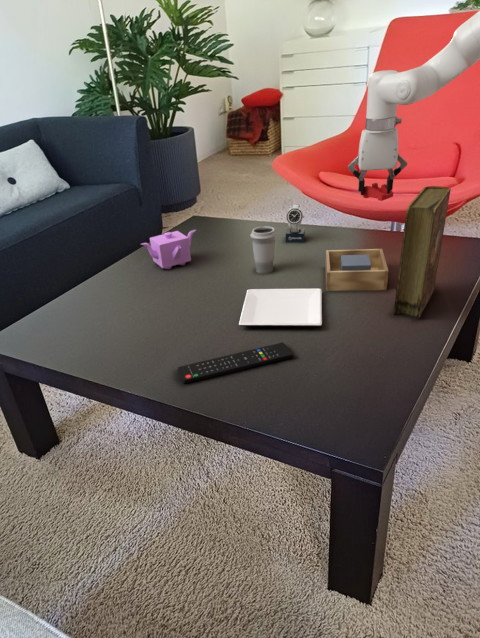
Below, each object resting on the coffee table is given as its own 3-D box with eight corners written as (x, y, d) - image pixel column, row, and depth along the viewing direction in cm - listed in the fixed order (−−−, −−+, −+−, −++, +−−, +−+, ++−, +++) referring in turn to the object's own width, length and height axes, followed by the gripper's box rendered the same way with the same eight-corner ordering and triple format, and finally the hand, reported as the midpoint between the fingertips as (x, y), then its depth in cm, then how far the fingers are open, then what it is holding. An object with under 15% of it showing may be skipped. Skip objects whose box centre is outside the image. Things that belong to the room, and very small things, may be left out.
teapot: (153, 279, 150) (148, 247, 145) (138, 265, 161) (132, 234, 155) (209, 264, 156) (206, 232, 151) (190, 251, 166) (187, 221, 161)
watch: (284, 245, 162) (284, 210, 156) (287, 236, 169) (287, 202, 163) (303, 245, 161) (303, 210, 155) (305, 236, 167) (305, 201, 161)
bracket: (363, 197, 149) (363, 186, 148) (374, 193, 152) (375, 182, 150) (381, 200, 145) (382, 189, 143) (393, 196, 147) (393, 185, 145)
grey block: (367, 272, 139) (368, 254, 137) (369, 283, 134) (371, 265, 131) (339, 272, 141) (340, 255, 138) (341, 283, 135) (342, 265, 132)
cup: (275, 265, 151) (274, 224, 144) (279, 274, 145) (278, 232, 138) (250, 267, 151) (248, 227, 144) (253, 277, 145) (251, 235, 139)
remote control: (293, 359, 109) (293, 354, 108) (182, 386, 105) (181, 381, 104) (282, 347, 114) (282, 342, 113) (176, 373, 109) (175, 367, 109)
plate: (247, 295, 136) (247, 288, 135) (321, 295, 132) (321, 287, 131) (238, 331, 121) (238, 323, 120) (321, 332, 117) (321, 324, 116)
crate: (380, 268, 142) (382, 248, 139) (386, 291, 130) (388, 271, 127) (325, 269, 145) (325, 250, 142) (326, 292, 133) (327, 272, 130)
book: (411, 287, 131) (425, 185, 117) (434, 291, 128) (452, 186, 114) (393, 317, 120) (406, 207, 106) (418, 321, 117) (435, 209, 103)
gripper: (413, 119, 139) (405, 188, 149) (345, 124, 143) (342, 191, 153) (417, 124, 133) (409, 195, 143) (347, 129, 137) (343, 198, 147)
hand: (374, 192), depth 148 cm, fingers closed on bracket, 6 cm apart
